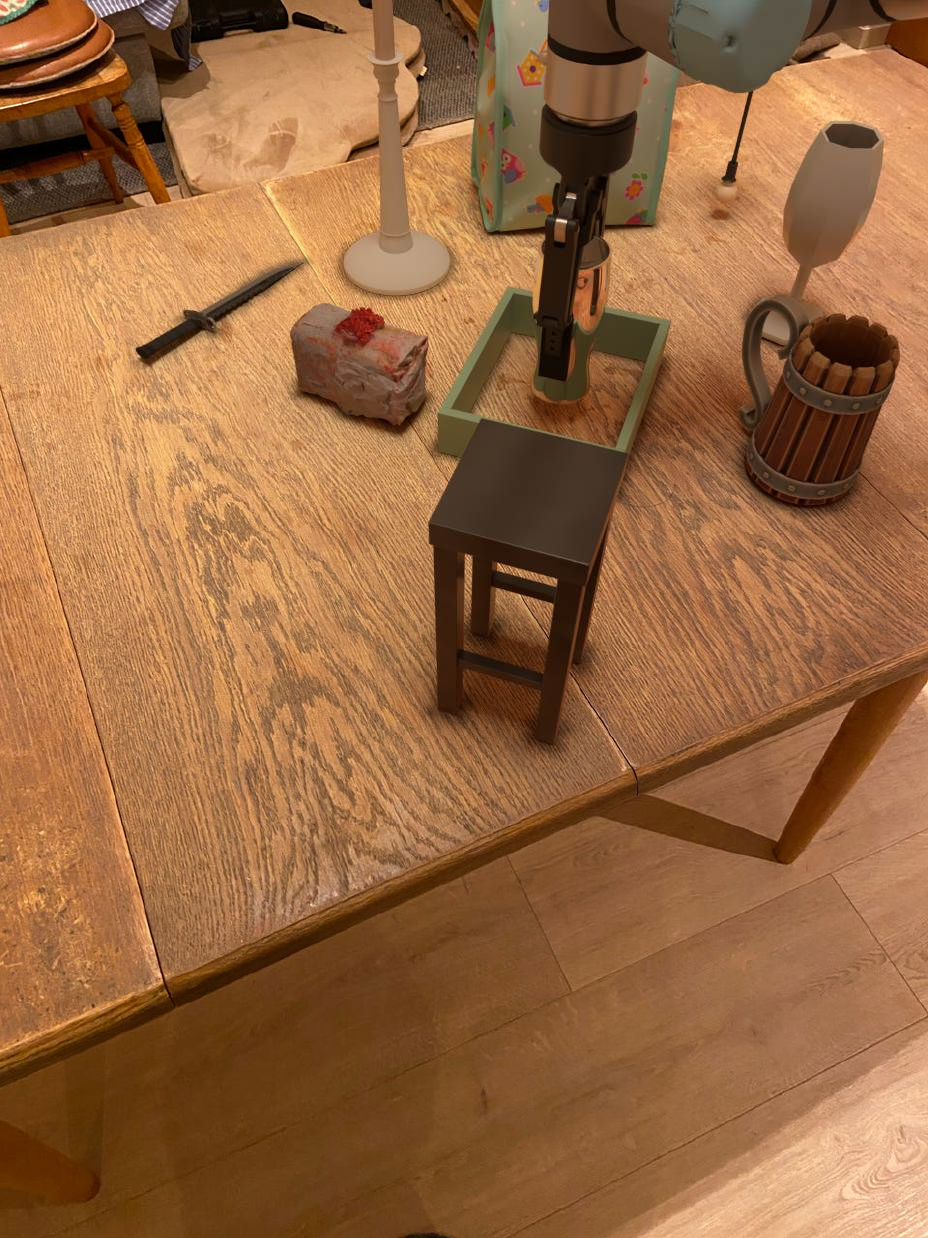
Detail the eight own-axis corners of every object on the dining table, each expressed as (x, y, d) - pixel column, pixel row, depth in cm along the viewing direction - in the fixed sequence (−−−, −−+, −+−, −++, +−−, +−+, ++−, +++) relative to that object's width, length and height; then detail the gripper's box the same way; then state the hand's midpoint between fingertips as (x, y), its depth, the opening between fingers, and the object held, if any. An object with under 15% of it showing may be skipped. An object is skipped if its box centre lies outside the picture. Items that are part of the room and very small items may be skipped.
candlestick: (455, 238, 112) (455, -49, 88) (443, 298, 104) (440, 2, 80) (353, 232, 112) (326, -55, 88) (335, 291, 105) (299, -5, 81)
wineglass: (821, 355, 99) (897, 164, 82) (742, 339, 100) (800, 148, 83) (829, 310, 104) (902, 121, 87) (753, 295, 105) (810, 107, 88)
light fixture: (715, 237, 113) (771, 10, 92) (682, 212, 116) (730, -12, 96) (756, 223, 115) (820, -1, 94) (723, 199, 118) (778, -23, 98)
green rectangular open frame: (662, 359, 98) (671, 319, 94) (615, 496, 86) (623, 457, 82) (505, 325, 101) (507, 285, 97) (438, 451, 89) (437, 412, 85)
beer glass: (525, 363, 93) (534, 226, 82) (592, 365, 93) (611, 228, 81) (526, 407, 89) (536, 270, 77) (596, 409, 89) (617, 271, 77)
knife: (283, 247, 109) (313, 257, 107) (286, 262, 110) (316, 272, 108) (123, 338, 96) (154, 352, 94) (129, 354, 97) (160, 368, 95)
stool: (587, 648, 75) (629, 452, 57) (555, 748, 69) (589, 565, 52) (474, 616, 77) (481, 417, 59) (434, 711, 71) (427, 522, 54)
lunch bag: (631, 167, 123) (669, -72, 101) (663, 233, 113) (713, -16, 91) (465, 177, 121) (468, -64, 99) (483, 245, 111) (490, -6, 89)
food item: (440, 395, 94) (439, 313, 86) (404, 441, 90) (399, 360, 82) (329, 358, 98) (318, 276, 90) (288, 401, 93) (273, 319, 85)
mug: (876, 480, 87) (943, 351, 75) (800, 525, 84) (858, 397, 71) (759, 393, 95) (803, 263, 83) (685, 431, 91) (720, 301, 79)
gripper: (576, 48, 76) (554, 290, 95) (505, 156, 65) (495, 407, 83) (663, 61, 75) (624, 304, 93) (606, 173, 63) (574, 425, 82)
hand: (563, 352), depth 88 cm, fingers closed on beer glass, 7 cm apart
